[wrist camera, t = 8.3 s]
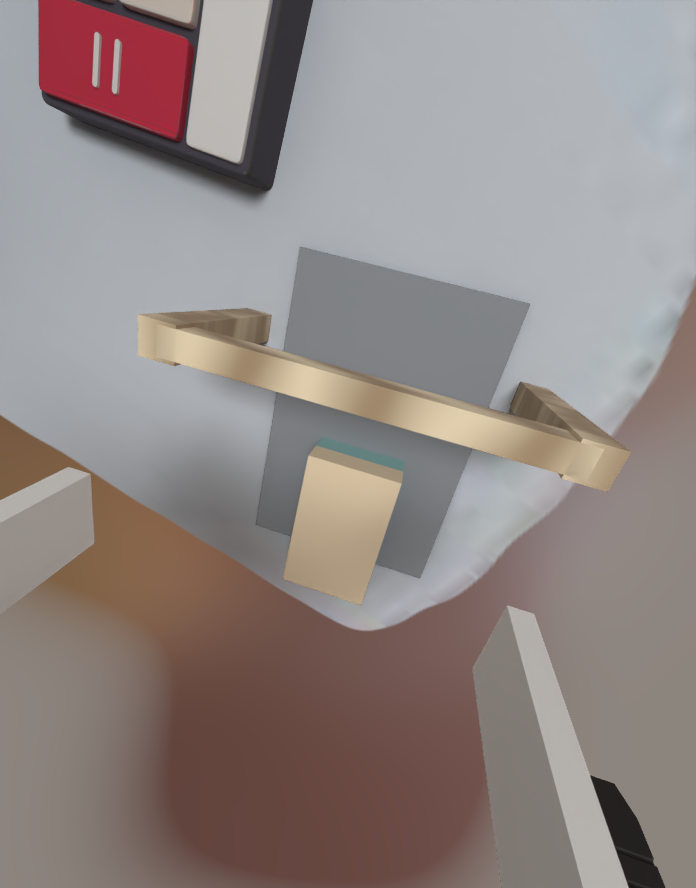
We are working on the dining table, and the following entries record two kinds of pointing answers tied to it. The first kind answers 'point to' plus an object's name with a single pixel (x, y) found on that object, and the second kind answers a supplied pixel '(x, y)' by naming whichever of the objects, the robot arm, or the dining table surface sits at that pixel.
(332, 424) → the mat
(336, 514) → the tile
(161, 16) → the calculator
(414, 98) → the dining table surface
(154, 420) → the dining table surface
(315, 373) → the rail
